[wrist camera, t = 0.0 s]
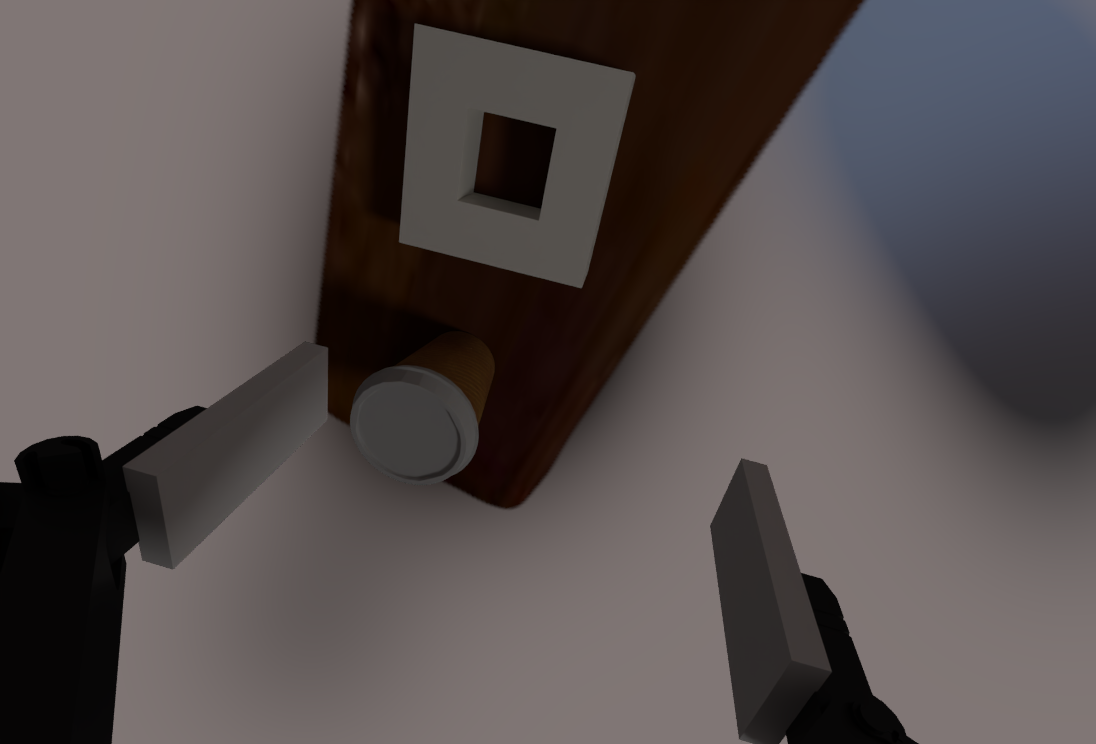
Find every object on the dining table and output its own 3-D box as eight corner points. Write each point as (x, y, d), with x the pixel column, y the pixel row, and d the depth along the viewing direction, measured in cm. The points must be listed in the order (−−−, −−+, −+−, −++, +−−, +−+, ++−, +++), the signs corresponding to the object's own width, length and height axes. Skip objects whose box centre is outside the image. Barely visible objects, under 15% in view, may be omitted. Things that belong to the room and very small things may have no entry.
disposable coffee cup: (458, 291, 46) (399, 348, 35) (534, 371, 48) (500, 448, 37) (390, 355, 50) (318, 423, 39) (463, 426, 52) (414, 510, 41)
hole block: (437, 30, 37) (414, 23, 34) (635, 75, 36) (633, 72, 33) (419, 231, 44) (399, 242, 40) (587, 273, 43) (581, 288, 39)
